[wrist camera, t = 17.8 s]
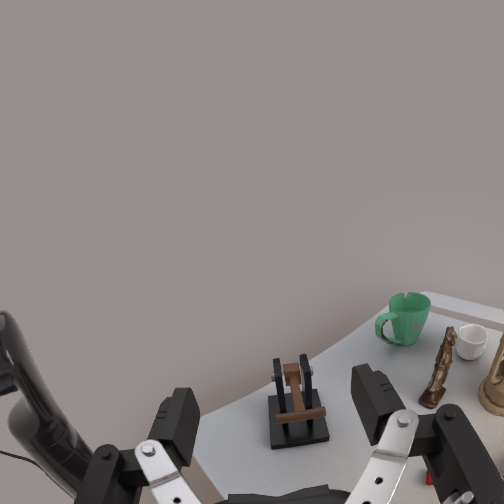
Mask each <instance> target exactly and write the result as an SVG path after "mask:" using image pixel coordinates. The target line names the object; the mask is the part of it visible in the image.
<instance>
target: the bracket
mask: <svg viewBox="0 0 504 504" xmlns="http://www.w3.org/2000/svg"><path fill="white" fill-rule="evenodd" d="M273 364H274V372H272V373H271V377H272V382H274V381H275V383H276V389H277V395H273V396H268V403H269V421H270V439H271V449H272V450H273V449H282V448H289V447H296V446H303V445H309V444H314V443H320V442H325V441H329V437H330V436H329V432H328V428H327V425H326V421H325V417H319V418H314V419H309V420H303V421H296V422H290V423H283V424H277V423H276V416H275V415H276V414H282V413H290V412H295V410H294V404H293V398H292V393H288V394H284V387H283V380H282V373H281V365H280V359H279V358H277V359H273ZM300 366H301V378H302V391H301V395H302V399H303V404H304V408H305V410H308V409H314V408H319V407H322V406H321V402H320V399H319V395H318V392H317V389H312V381H311V376H312V375H313V369H312V366H311V367H310V366H309V362H308V359H307V355H306V354H302V355H300Z"/></svg>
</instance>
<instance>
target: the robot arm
mask: <svg viewBox="0 0 504 504" xmlns="http://www.w3.org/2000/svg"><path fill="white" fill-rule="evenodd" d="M16 391H20V392H21V393H22V394H23V396H22V397H21V398H20V399H19V400H18V401H17V403H16V404H15V405H14V406H13V407H12V409H11V411H10V413H9V416H8V428H9V430H10V432H11V434H12V435H13V437H14V438H15V439H16V440H17V442H18V443H19V444H20V445H21V446H22V447H23V449H24V450H25V451H26V452H27V453H28V454H29V455H30V456H31V458H32V459H33V460H35V461H32V460H31V459H28V458H25V457H21V456H17V455H13V454H10V453H7V452H3V451H0V453H1V454H5V455H8V456H11V457H15V458H19V459H22V460H26V461H28V462H31V463H33V464H35V465H36V466H38V467H39V468H40V469H42V470H43V471H44V472H45V474H46V475H47V476H48V477H49V478H50V479H51V480H52V481H53V482H54V483H55V484H56V485H57V486H59V487H60V488H61V489H62V490H63V491H64V492H65V493H67V494H68V495H69V496H70V497H71V498H73V499H74V500H75V501H74V504H139V500H140V496H141V492H142V488H143V486H149V489H150V490H151V492H152V494H153V496H154V498H155V499H156V501H157V503H158V504H204V503H203V502H202V500H201V499H200V498H199V497H198V495H197V494H196V493H195V491H194V490H193V489H192V487H191V486H190V484H189V483H188V482H187V480H186V479H185V478H184V476H183V475H182V473H181V469H182V466H186V467H190V463H191V458H192V453H193V448H194V444H195V439H196V434H197V430H198V425H199V420H200V410H199V406H198V404H197V402H196V399H195V397H194V394H193V391H192V389H191V388H175V390H174V393H173V396H172V397H167V398H166V399H165V400H164V401H163V402H162V403H161V405H160V408H159V410H158V413H157V415H156V419H155V420H154V423H153V426H152V428H151V431H150V433H149V436H148V438H147V440H144V441H142V442H140V443H139V444H138V445H137V446H136V448H135V449H130V450H121V451H119V450H118V449H117V448H116V447H115V446H114V445H110V444H106V445H102V446H100V447H98V448H97V449H96V451H95V452H93V451H92V450H91V449H90V448H89V447H88V445H87V444H86V443H85V441H84V440H83V439H82V438H81V436H80V435H79V434H78V432H77V431H76V430H75V429H74V427H73V426H72V425H71V423H70V422H69V420H68V419H67V418H66V416H65V415H64V413H63V412H62V410H61V409H60V407H59V406H58V404H57V402H56V401H55V399H54V397H53V396H52V394H51V392H50V390H49V389H48V387H47V385H46V383H45V382H44V380H43V378H42V376H41V374H40V372H39V370H38V368H37V366H36V364H35V362H34V359H33V357H32V355H31V352H30V350H29V348H28V345H27V343H26V340H25V338H24V335H23V333H22V331H21V329H20V327H19V325H18V323H17V321H16V320H15V318H14V317H13V316H12V314H11V313H9V312H8V311H6V310H1V311H0V397H2V396H5V395H8V394H11V393H13V392H16ZM351 395H352V399H353V402H354V404H355V406H356V409H357V411H358V414H359V416H360V419H361V421H362V424H363V426H364V429H365V431H366V434H367V437H368V439H369V442H370V444H371V446H373V445H376V444H378V445H377V448H376V450H375V451H374V452H373V454H372V455H371V457H370V459H369V461H368V463H367V465H366V467H365V469H364V471H363V473H362V475H361V477H360V478H359V480H358V482H357V484H356V485H355V487H354V489H353V490H352V492H351V493H350V492H347V491H342V490H335V489H329V488H328V484H326V485H321V486H316V487H310V488H304V489H301V490H298V491H295V492H292V493H289V494H286V495H283V496H279V497H274V496H265V495H258V494H228V500H224V501H221V502H218V503H215V504H388V503H389V501H390V499H391V497H392V495H393V493H394V491H395V489H396V486H397V484H398V482H399V479H400V477H401V475H402V472H403V470H404V467H405V464H406V462H407V459H408V458H407V457H413V456H421V455H422V457H423V459H424V462H425V464H426V467H427V469H428V472H429V474H430V477H431V479H432V482H433V484H434V487H435V490H436V492H437V495H438V498H439V501H440V504H504V481H503V479H502V477H501V476H500V474H499V472H498V470H497V468H496V466H495V464H494V462H493V461H492V459H491V457H490V455H489V453H488V452H487V450H486V448H485V446H484V445H483V443H482V441H481V440H480V438H479V436H478V435H477V433H476V431H475V430H474V428H473V427H472V425H471V423H470V422H469V420H468V419H467V417H466V416H465V414H464V412H463V411H462V409H461V408H460V407H459V406H457V405H455V404H445V405H443V406H441V407H440V408H439V409H438V410H437V412H436V413H435V414H427V415H417V414H416V413H415V412H413V411H411V410H408V409H406V408H405V406H404V404H403V402H402V401H401V399H400V397H399V396H398V394H397V392H396V391H395V389H394V387H393V386H392V384H390V381H389V379H388V378H387V376H386V375H385V374H383V373H382V372H380V371H379V370H378V371H374V372H373V371H372V370H371V368H370V366H369V365H368V364H367V363H366V364H362V365H358V366H354V367H353V368H352V379H351Z"/></svg>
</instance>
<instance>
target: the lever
mask: <svg viewBox="0 0 504 504" xmlns="http://www.w3.org/2000/svg"><path fill="white" fill-rule="evenodd" d="M283 367H284V374H285V382H286V386H290V387H291V393H292V398H293V404H294V410H295V412H290V413H282V414H276V415H275V416H276V423H277V424H283V423H290V422H296V421H303V420H309V419H314V418H319V417H324V416H326V409H325V407H319V408H314V409H308V410H305V408H304V404H303V399H302V395H301V391H300V387H299V384H301V375H300V369H299V365H298V363H292V364H284V365H283Z"/></svg>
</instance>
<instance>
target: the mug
mask: <svg viewBox="0 0 504 504" xmlns="http://www.w3.org/2000/svg"><path fill="white" fill-rule="evenodd" d="M430 305H431V302H430V300H429V298H428V297H426V296H425V295H422V294H419V293H413V292H411V293H408V295H407V298H406V299H405V297H404V294H403V293H400V294H397V295H395V296H393V297H392V298H391V299H390V300H389V310H390V312H389V313H384V314H382V315H380V316H379V317H378V318H377V320H376V322H375V328H376V335H377V336H378V337H379V338H380V339H382V340H383V341H385V342H386V343H388V344H401V345H404V346H408V345H412V344H413V343H415V341H416V339H417V338H418V336H419V334H420V332H421V330H422V328H423V326H424V324H425V321H426V318H427V316H428V312H429V309H430ZM389 320H391V322H392V327H393V331H394V334H395V337H396V338H387V337H386V336H385V335H384V334H383V325H384V324H385V322H387V321H389Z"/></svg>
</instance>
